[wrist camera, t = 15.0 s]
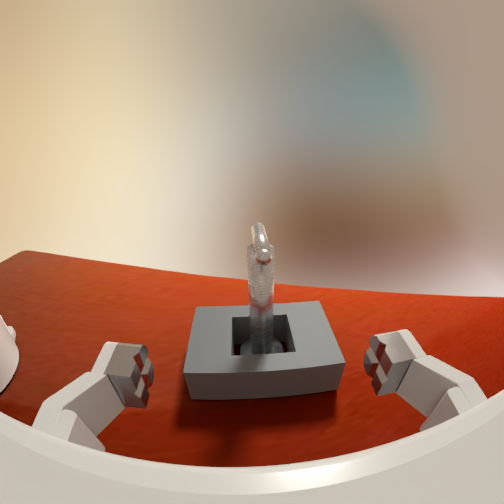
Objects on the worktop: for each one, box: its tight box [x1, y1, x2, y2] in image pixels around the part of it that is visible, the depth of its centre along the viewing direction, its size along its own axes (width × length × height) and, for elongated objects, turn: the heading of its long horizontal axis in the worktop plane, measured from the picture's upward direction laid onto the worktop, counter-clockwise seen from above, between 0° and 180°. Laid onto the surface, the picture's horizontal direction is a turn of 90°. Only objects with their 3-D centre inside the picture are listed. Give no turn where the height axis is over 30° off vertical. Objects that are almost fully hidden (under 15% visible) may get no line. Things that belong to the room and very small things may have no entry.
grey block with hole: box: [183, 301, 345, 400], centre depth 27 cm, size 14×10×4 cm
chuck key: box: [240, 223, 283, 355], centre depth 25 cm, size 4×7×14 cm, turn 3°
